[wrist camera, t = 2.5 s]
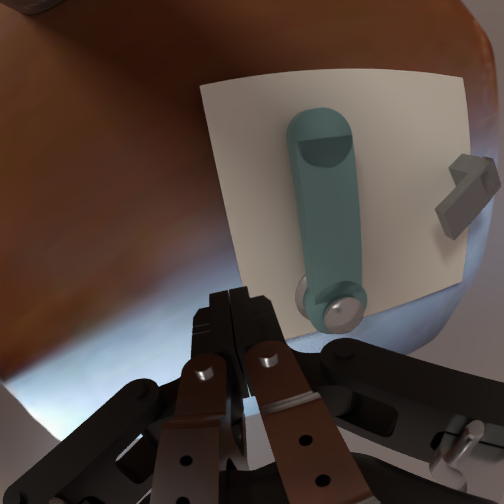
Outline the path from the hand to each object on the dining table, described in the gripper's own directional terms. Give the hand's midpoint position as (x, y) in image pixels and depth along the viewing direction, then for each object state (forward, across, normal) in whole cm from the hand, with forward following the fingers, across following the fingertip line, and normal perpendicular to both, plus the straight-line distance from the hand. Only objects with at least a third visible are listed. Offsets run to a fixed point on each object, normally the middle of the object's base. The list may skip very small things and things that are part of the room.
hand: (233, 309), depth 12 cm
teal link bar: (+10, -7, +1) cm, 13 cm away
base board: (+12, -12, +1) cm, 18 cm away
